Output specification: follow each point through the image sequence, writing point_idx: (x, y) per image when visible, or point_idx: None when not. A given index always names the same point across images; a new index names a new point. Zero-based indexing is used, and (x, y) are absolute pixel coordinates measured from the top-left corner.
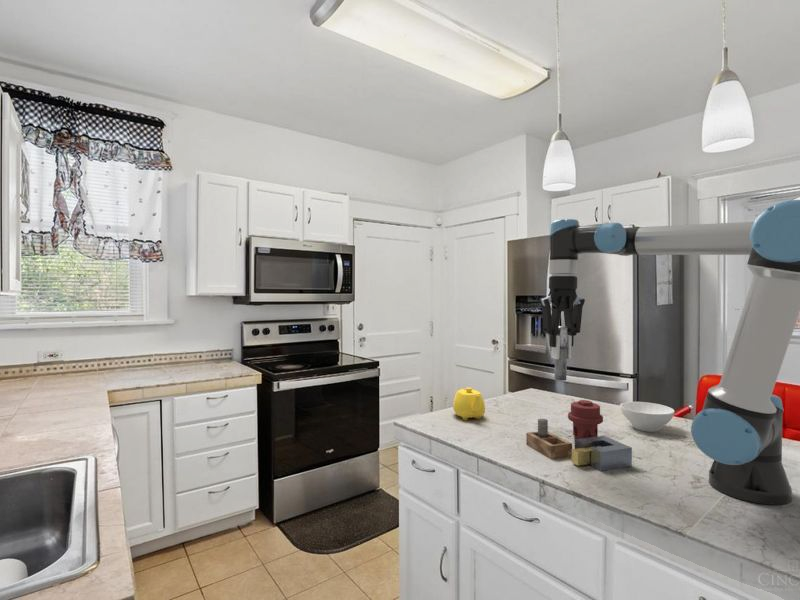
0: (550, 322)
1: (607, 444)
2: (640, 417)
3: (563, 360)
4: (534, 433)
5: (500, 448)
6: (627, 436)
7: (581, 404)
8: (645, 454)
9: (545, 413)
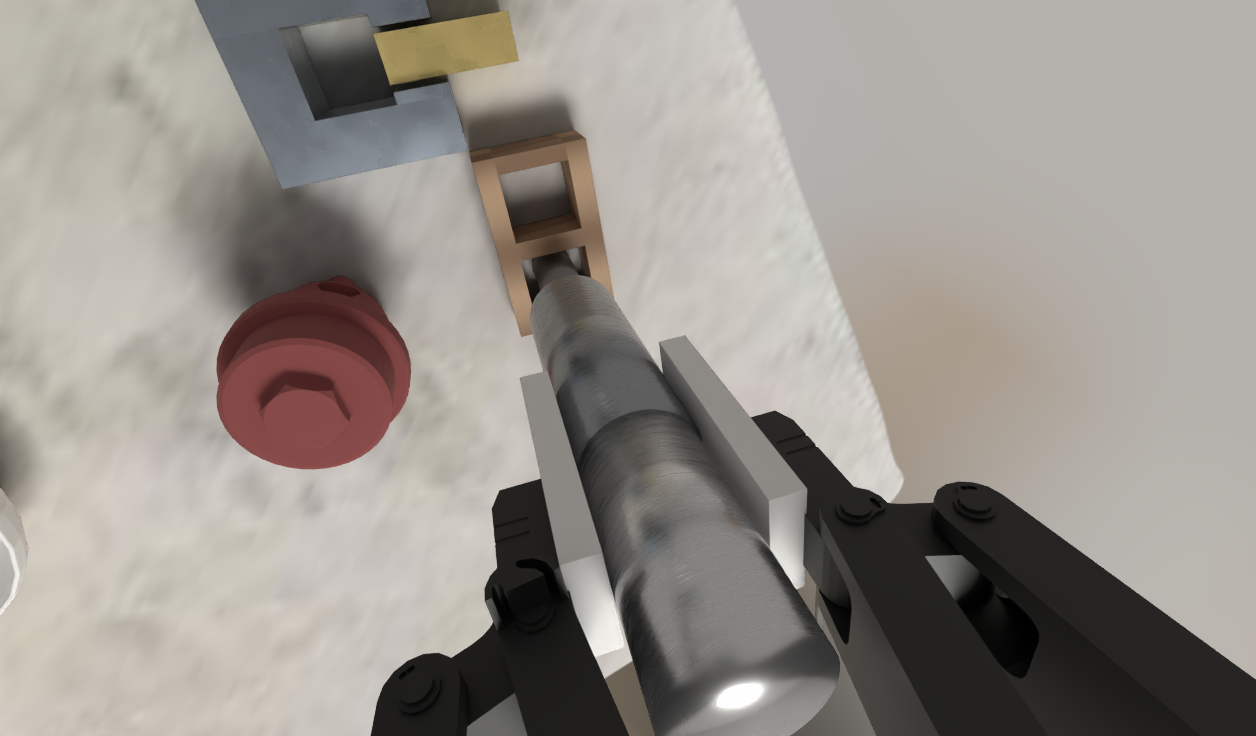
0: (1118, 636)
1: (303, 86)
2: None
3: (611, 342)
4: None
5: (714, 258)
6: (84, 374)
7: (338, 395)
8: (64, 128)
9: (392, 612)
